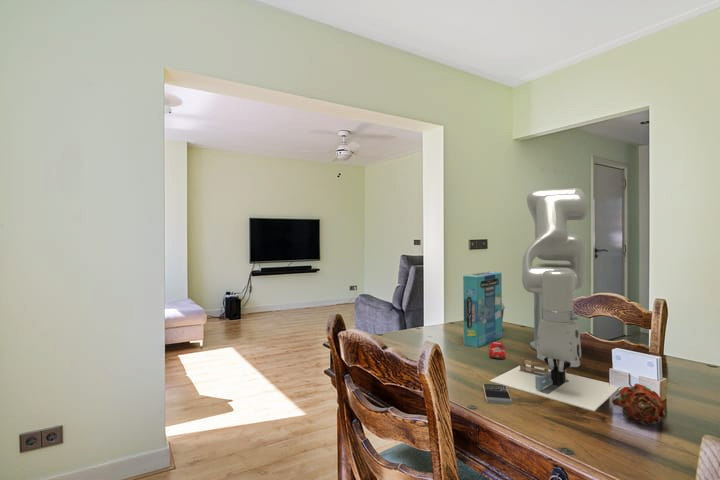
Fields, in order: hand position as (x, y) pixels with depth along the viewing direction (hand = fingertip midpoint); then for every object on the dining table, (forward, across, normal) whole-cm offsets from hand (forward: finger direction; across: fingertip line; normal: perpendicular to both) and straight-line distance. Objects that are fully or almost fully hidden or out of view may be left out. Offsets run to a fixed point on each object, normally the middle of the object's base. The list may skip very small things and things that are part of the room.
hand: (558, 384), depth 104 cm
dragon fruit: (+2, -19, +3) cm, 19 cm away
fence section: (+2, +9, -8) cm, 12 cm away
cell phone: (+3, +10, +14) cm, 18 cm away
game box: (+2, +41, -31) cm, 51 cm away
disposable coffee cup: (+2, +47, -50) cm, 69 cm away
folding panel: (+1, +3, -2) cm, 4 cm away
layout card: (+2, +3, -4) cm, 6 cm away
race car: (+3, +28, -19) cm, 34 cm away
